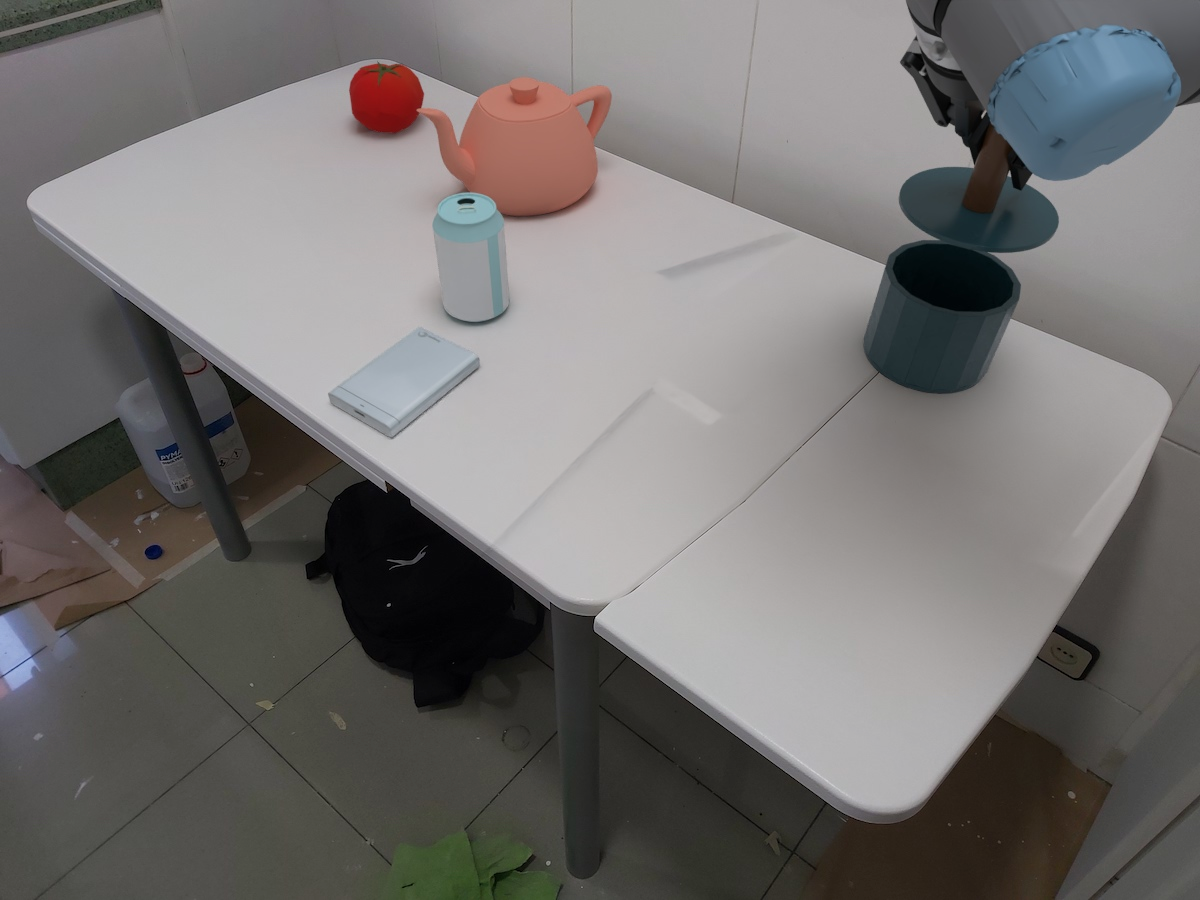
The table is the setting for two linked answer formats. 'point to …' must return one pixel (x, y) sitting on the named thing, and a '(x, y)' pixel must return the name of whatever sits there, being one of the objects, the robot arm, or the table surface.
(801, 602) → the table surface
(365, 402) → the hard drive
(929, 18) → the robot arm
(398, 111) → the tomato
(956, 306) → the pot
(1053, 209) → the lid
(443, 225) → the can
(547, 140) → the teapot
